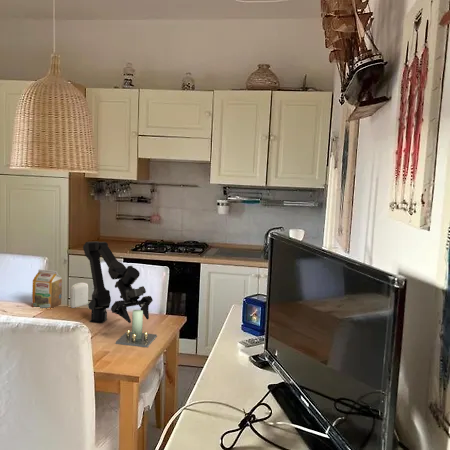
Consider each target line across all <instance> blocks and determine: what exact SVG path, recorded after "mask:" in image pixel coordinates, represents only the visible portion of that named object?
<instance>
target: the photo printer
mask: <svg viewBox="0 0 450 450" xmlns="http://www.w3.org/2000/svg"><path fill="white" fill-rule="evenodd" d="M69 289H70V290H69V293H70V295H69V307H70V308H73V309H75V308H78V307H81V306H86V305H88V304H89V284H88V283H87V282H76V283H74V284H72V285H71V286H70V288H69Z"/></svg>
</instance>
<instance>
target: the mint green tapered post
mask: <svg viewBox="0 0 450 450" xmlns="http://www.w3.org/2000/svg"><path fill="white" fill-rule="evenodd" d="M143 319H144V314H143V311H142V310H141V309H133V310H132V317H131V332H132V334H136V340H139V339H142V333H143V322H144V321H143Z"/></svg>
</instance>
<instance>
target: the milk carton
mask: <svg viewBox="0 0 450 450" xmlns="http://www.w3.org/2000/svg"><path fill="white" fill-rule="evenodd" d="M62 287H63V277H61V275H60V274H58V271H57V270H49V269H48V270H47V269H38V272H37V273H36V274H35V276H34V278H33V279H32V292H31V293H32V294H31V301H32V302H31V307H32V308H34V307H40V308H39V309H43V308H50V309H49V310H52V309H51V308H53V309H54V307H55V308H56V307H59V306H61V305H62V298H63V297H62V295H63V294H62V293H63V292H62V291H63V288H62Z"/></svg>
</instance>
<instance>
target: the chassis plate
mask: <svg viewBox="0 0 450 450" xmlns="http://www.w3.org/2000/svg"><path fill="white" fill-rule="evenodd" d="M157 337H158V335H157V334H155V333H149V332H148V331H144V332H142V339H139V340H136V334H132V331H131V330H130V329H126V331H125V333H123V334H122V335H121V336H120V337H119V338H118V339H117V340H115V344H116V345H123V346H130V347H131V346H132V347H138V348H139V347H142V348H148V347H149V346H150V345H151V344H152V342H154V340H155V339H156V338H157Z"/></svg>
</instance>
